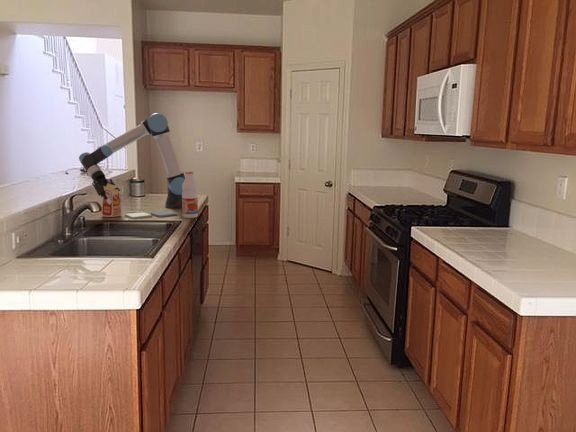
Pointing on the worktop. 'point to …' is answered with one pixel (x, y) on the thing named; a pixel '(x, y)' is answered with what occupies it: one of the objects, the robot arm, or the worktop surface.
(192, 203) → the fruit juice
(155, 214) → the slate mat
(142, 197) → the worktop surface
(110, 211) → the milk carton
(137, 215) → the sage mat
